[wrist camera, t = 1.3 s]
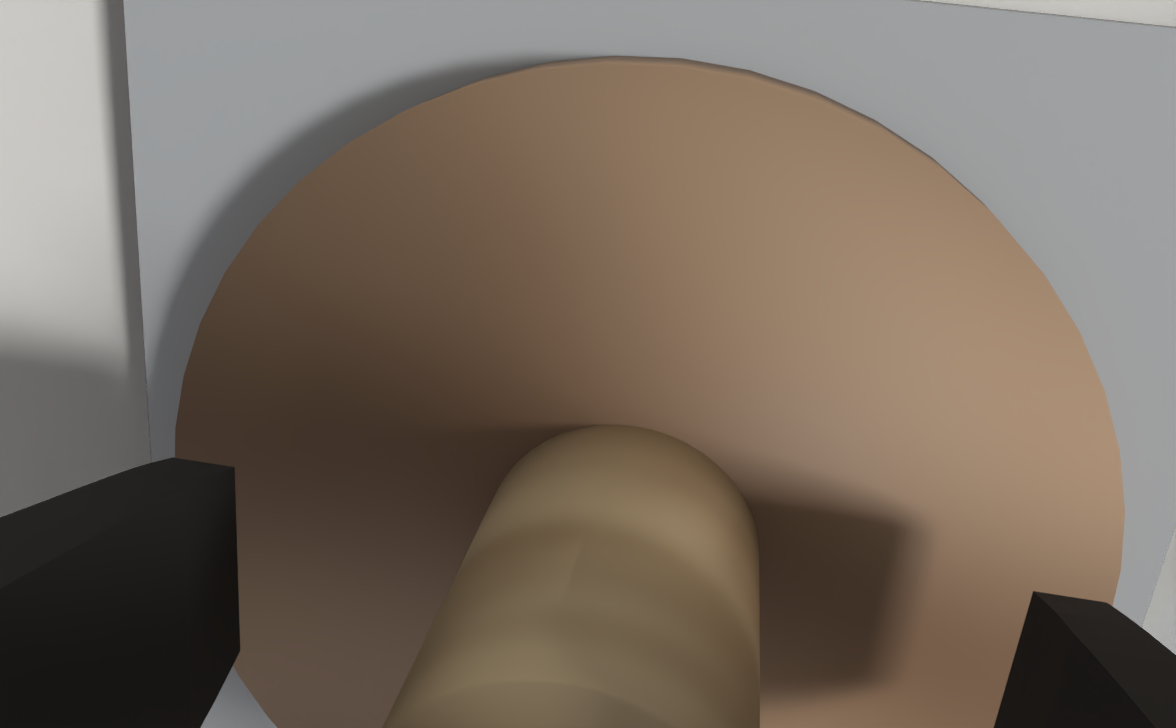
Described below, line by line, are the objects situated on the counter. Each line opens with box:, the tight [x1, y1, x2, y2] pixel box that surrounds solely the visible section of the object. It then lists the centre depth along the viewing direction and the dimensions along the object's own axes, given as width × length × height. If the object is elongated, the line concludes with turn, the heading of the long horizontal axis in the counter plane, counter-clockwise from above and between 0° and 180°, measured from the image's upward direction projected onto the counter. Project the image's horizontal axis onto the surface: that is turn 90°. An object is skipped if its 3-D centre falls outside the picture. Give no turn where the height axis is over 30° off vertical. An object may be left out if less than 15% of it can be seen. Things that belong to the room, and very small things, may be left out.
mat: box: [123, 0, 1176, 728], centre depth 12 cm, size 11×11×1 cm
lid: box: [175, 56, 1125, 728], centre depth 10 cm, size 10×10×5 cm
